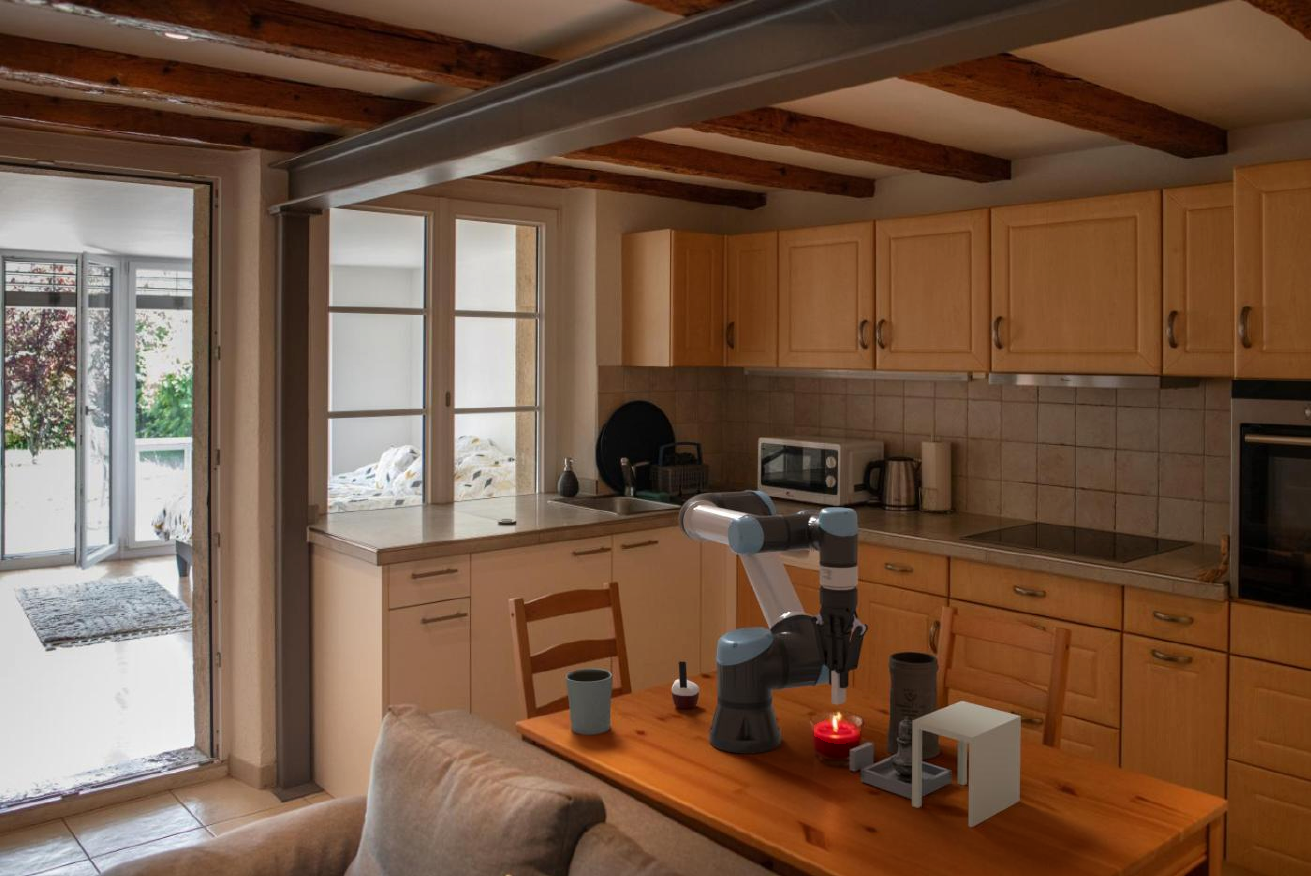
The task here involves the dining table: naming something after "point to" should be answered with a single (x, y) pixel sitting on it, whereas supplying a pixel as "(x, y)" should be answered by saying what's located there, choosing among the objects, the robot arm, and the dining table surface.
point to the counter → (975, 755)
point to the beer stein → (912, 697)
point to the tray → (884, 770)
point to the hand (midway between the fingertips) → (838, 702)
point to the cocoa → (684, 690)
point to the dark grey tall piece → (904, 753)
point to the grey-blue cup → (589, 700)
